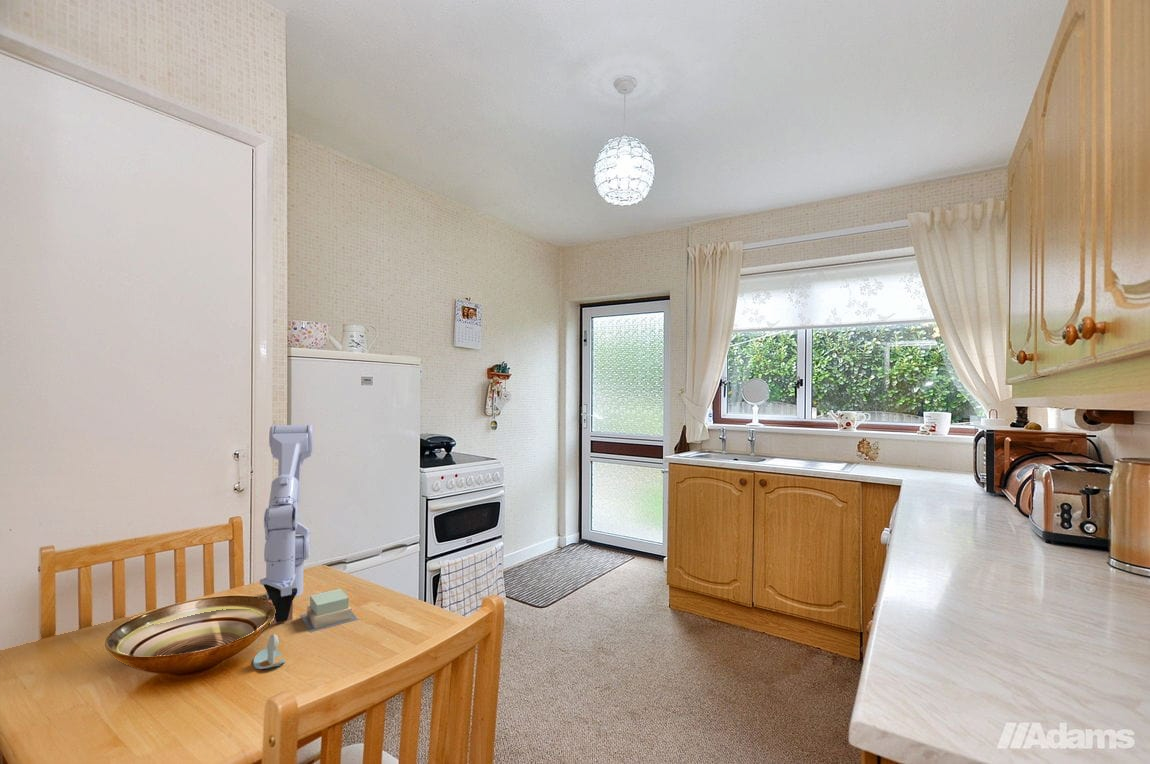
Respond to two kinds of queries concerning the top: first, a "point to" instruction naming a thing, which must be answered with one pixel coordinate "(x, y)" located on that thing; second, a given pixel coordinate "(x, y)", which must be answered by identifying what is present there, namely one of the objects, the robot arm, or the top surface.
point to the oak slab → (328, 617)
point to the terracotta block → (288, 616)
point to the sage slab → (329, 602)
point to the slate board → (312, 629)
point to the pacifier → (268, 654)
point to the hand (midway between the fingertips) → (279, 616)
